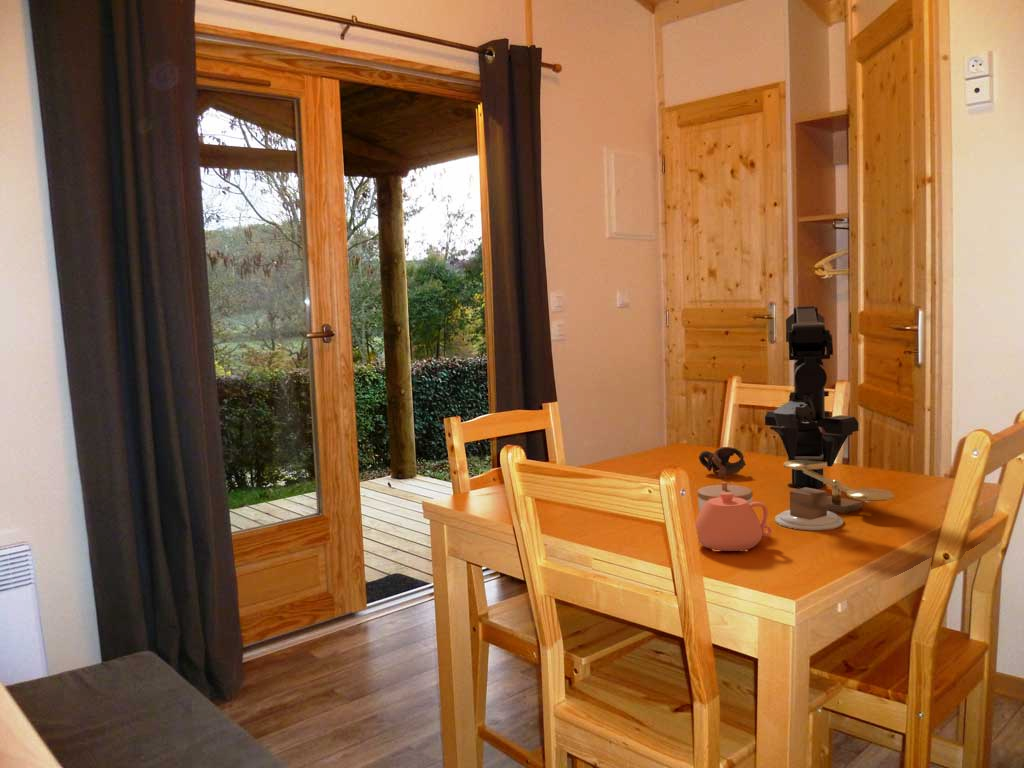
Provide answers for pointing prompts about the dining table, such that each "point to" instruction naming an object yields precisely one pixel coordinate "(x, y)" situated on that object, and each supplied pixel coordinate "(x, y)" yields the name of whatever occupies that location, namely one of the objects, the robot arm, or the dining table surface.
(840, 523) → the dish
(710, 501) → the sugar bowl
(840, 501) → the balance
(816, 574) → the dining table surface
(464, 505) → the dining table surface
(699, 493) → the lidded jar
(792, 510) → the block
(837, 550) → the dining table surface
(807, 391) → the robot arm
